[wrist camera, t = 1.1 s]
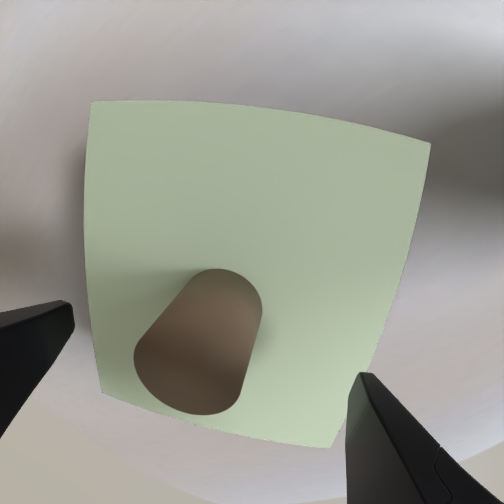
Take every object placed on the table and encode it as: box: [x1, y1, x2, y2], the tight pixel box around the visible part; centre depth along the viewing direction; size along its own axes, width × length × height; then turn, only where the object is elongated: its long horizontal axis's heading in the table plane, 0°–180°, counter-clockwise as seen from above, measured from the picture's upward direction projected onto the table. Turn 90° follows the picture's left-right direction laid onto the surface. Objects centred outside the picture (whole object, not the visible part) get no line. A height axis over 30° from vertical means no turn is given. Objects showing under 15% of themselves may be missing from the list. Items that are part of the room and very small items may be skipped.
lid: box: [84, 100, 431, 449], centre depth 10 cm, size 12×14×5 cm
